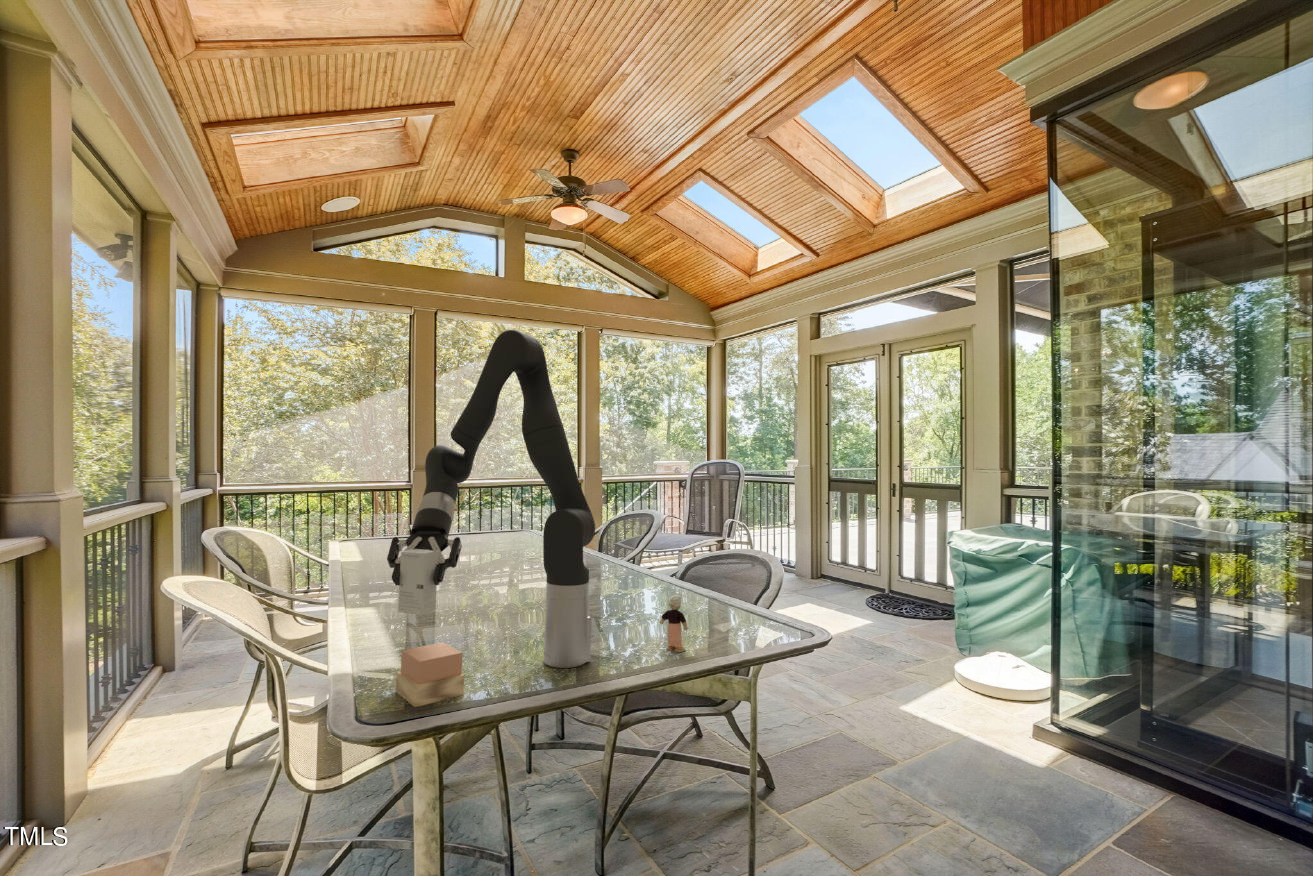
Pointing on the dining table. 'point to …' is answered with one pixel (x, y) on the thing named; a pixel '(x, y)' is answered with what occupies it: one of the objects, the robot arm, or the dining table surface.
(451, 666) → the tower top
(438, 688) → the tower base
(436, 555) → the skincare box
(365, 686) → the dining table surface
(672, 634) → the grandmother figurine
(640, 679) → the dining table surface
